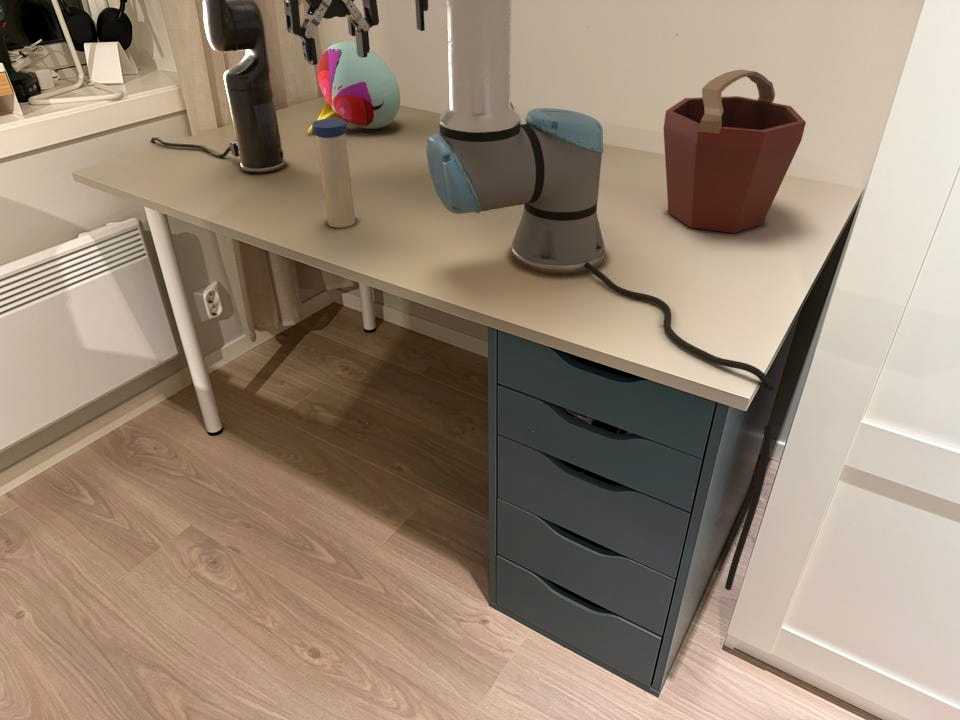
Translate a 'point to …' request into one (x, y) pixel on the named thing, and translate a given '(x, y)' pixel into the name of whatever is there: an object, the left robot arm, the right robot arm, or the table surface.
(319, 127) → the lid
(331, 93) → the toy
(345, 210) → the jar
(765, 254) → the table surface
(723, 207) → the bucket
